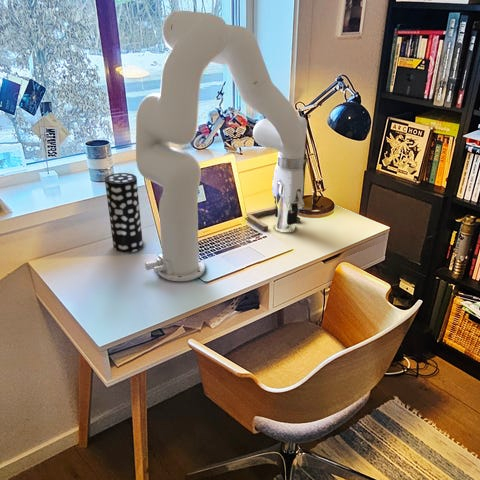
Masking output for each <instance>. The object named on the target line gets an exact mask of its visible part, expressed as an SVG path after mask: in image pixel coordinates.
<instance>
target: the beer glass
mask: <svg viewBox="0 0 480 480" xmlns="http://www.w3.org/2000/svg"><path fill="white" fill-rule="evenodd" d="M284 189H285V186H284V184H281V183H280V182H278V185H277V192H276V204H275V206H276V205H277V214H278V215H277V217H276V222H275V223H276V224H275V226H274V227H275V230H276V231H277V232H280V233H292V232H294V231H295V230H296V223H295V224H291V225H288V224H287V220H288V212H290V210H289V207H290V204H287V203H285V202H284ZM295 201H297V199H296V198H295V200H294V202H295ZM294 206H296V203H295V204H293V207H294Z"/></svg>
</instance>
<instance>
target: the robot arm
mask: <svg viewBox="0 0 480 480" xmlns="http://www.w3.org/2000/svg"><path fill="white" fill-rule="evenodd" d="M161 35H162V38H163V41H164V43H165V45H166V47H167V48H168V49H169V50H170V51H169V53H168V55H167V56H166V59H165V61H164V62H163V66H162V69H161V78H160V92H159V93H151V94H148V95H146V96H145V97H144V98H142V100H141V101H140V103H139V105H138V108H137V110H136V115H135V116H136V117H135V162H136V166H137V170H138V172H139V174H140V175H141V176H142V177H143V178H145V179H146V180H148V181H150V182H152V183H153V184H156V185H158V186H160V187H162V193H161V196H160V200H159V203H158V214H159V227H160V230H159V231H160V241H161V242H160V243H161V244H160V245H161V253H160V254H158V258H156V259H155V260H154V261H148V262H144V268H145V270H146V271H149V270H153V272H154V273H157V274H158V275H159V276H160V277H161V278H163V279H165V280H168V281H172V282H188V281H192V280H195V279H198V278H200V277H201V276H202V275H203V274H204V273H205V271H206V265H205V263H204V261H203V260H202V259H200V253H199V252H200V250H199V248H200V247H199V210H198V209H199V208H198V206H199V205H198V204H199V203H198V202H199V199H198V198H199V190H200V185H201V178H202V169H201V165H200V163H199V161H198V160H197V159H196V158H195V156H194V155H192V154H190V153H189V152H188V151H185V150H183V149H180V148H177V147H174V146H171V145H170V144H171V143H172V144H175V145H180V146H186V145H188V144H190V143H192V142H193V141H194V139H195V138H196V135H197V132H198V123H199V121H198V120H199V104H200V89H201V82H202V78H203V75H204V73H205V71H206V69H207V68H208V67H209V65H210V64H211V63H215V64H218V65H219V64H220V65H224V66H226V68H227V69H228V72H229V74H230V76H231V78H232V81H233V83H234V85H235V88H236V90H237V93H238V95H239V97H240V99H241V100H242V101H243V102H244V103H245V104H246V105H247V106H249V107H250V108H251V109H252V110H254V111H255V112H257V113H258V114H260V115H262V116H263V117H264V118H263V119H259V121H257V122H256V124H255V125H254V126H253V129H252V138H253V140H254V142H255V143H256V144H258V145H259V146H261V147H263V148H266V149H270V150H273V151H277V161H276V163H275V167H274V171H273V176H272V177H273V179H272V185H271V194H272V196H273V198H274V204H275V207H276V210H275V213H274V217H275V218H277V215H278V214H277V205H276V192H277V185H278V182H280V183H281V184H284V186H285V189H284V202H285V203H287V204H290V207H289V210H290V212H288V220H287V224H288V225H291V224H295V225H296V224H298V223H297V216H298V214H299V212H300V210H301V209H302V208H303V207H305V201H304V199H302V197H303V186H304V187H305V182H304V176H303V169H302V168H303V162H304V151H305V150H306V141H307V140H306V139H307V132H308V131H307V130H308V121H307V119H306V118H305V117H304V116H302V115H301V116H300V115H299V114H298V112H297V111H296V110H295V107H294V106H293V104H292V103H291V102H290V101H289V100H288V99H287V97H286V96H285V95H284V94H283V92H282V91H281V90H280V89H279V88H278V87H277V86H276V85H275V84H274V83H273V81H272V78H271V77H270V73H269V70H268V68H267V66H266V63H265V59H264V57H263V54H262V52H261V48H260V46H259V44H258V41H257V38H256V36H255V34H254V33H253V31H252V30H250V29H249V28H247V27H245V26H241V25H233V24H227V23H226V21H225V20H224V19H223V18H222V17H221V16H218V15H216V14H213V13H209V12H203V11H202V12H201V11H189V10H180V9H179V10H175V11H172V12H170V13H169V14H168V15H167V16H166V17H165V19H164V20H163V23H162V26H161ZM295 198H296V199H297V201H295V202H294V200H295ZM295 203H296V206H294V207H293V204H295Z"/></svg>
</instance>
